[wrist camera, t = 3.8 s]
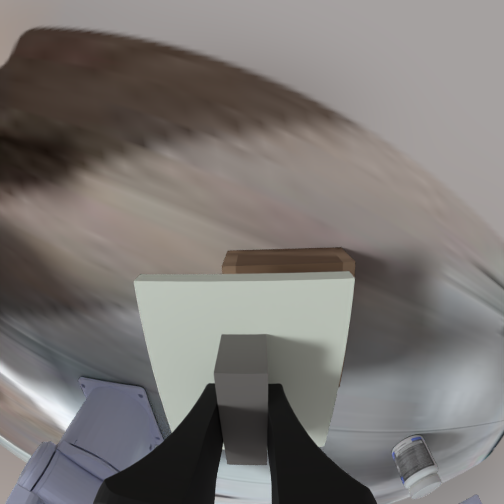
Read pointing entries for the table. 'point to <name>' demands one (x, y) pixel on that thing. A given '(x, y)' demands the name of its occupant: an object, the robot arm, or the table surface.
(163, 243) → the table surface
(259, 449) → the lid
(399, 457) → the pill bottle
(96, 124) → the table surface
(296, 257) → the box
